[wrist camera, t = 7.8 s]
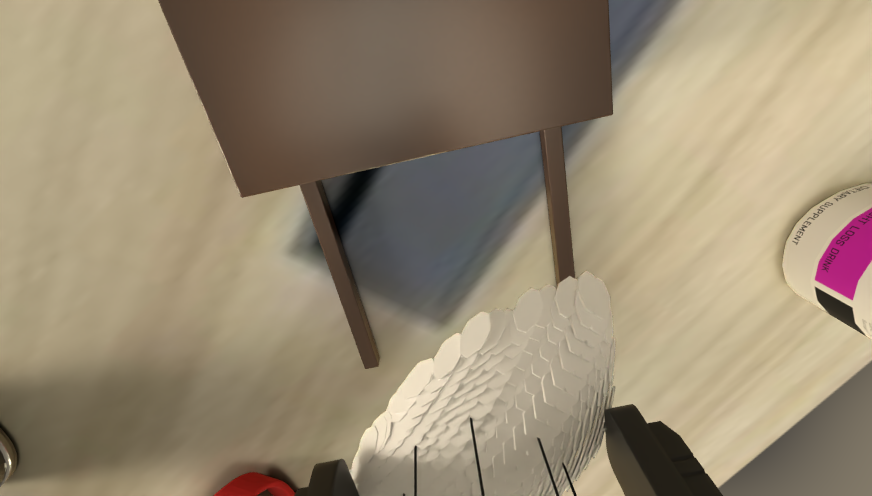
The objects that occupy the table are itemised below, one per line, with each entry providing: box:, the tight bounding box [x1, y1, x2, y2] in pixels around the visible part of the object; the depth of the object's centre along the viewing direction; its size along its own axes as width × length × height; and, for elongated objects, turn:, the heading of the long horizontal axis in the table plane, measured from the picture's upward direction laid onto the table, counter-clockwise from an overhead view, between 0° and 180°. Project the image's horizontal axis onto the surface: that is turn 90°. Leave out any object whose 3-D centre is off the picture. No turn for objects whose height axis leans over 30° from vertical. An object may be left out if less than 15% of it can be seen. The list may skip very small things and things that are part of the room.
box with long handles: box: [158, 0, 613, 369], centre depth 17 cm, size 15×32×14 cm, turn 12°
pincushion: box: [349, 270, 616, 496], centre depth 11 cm, size 12×6×6 cm, turn 146°
